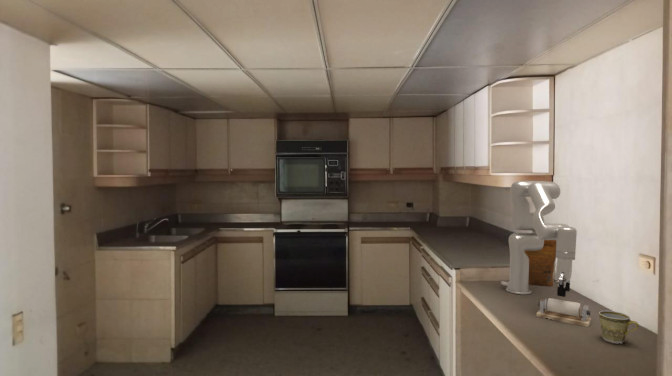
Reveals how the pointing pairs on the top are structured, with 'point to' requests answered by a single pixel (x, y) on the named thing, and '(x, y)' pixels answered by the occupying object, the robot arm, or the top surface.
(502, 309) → the top surface
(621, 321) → the ceramic cup
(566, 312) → the paper roll
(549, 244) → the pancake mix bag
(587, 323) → the roll cradle
